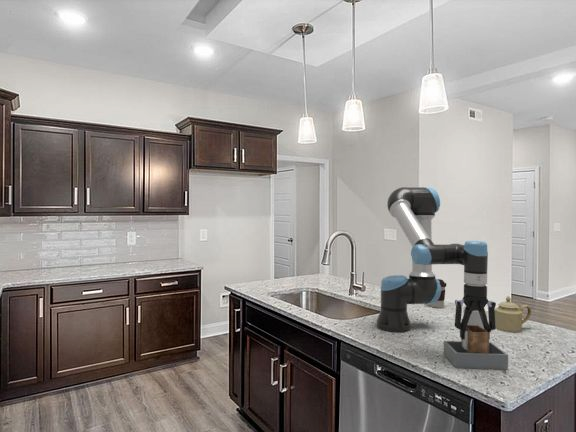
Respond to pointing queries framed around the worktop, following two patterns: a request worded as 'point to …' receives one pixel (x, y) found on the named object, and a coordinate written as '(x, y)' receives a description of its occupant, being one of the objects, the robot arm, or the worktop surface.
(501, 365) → the grey crate
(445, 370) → the worktop surface
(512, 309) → the beige teapot
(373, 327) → the worktop surface
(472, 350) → the walnut crate
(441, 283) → the coffee cup
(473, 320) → the mug
